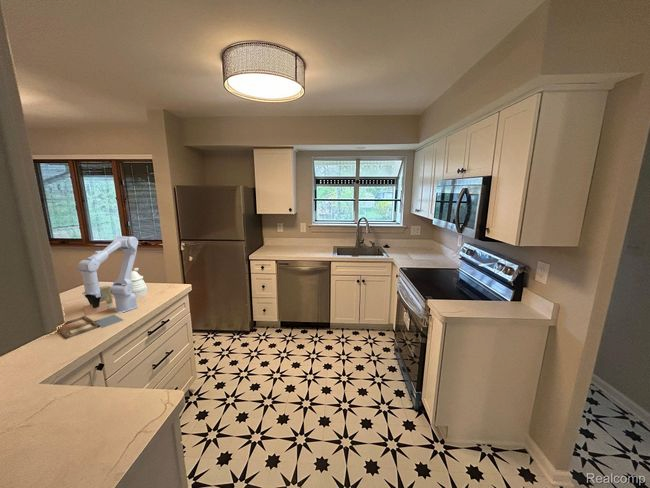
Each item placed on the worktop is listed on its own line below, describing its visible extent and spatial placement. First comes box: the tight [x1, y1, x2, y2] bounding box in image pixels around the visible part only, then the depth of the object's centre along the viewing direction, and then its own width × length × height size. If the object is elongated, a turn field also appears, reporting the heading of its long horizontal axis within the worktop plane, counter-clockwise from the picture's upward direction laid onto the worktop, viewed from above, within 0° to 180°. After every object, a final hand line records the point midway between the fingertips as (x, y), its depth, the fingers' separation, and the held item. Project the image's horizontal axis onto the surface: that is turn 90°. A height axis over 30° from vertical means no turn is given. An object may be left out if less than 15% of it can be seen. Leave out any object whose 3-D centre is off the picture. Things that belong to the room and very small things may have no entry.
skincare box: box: [99, 285, 114, 308], centre depth 159 cm, size 6×4×12 cm
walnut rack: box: [56, 315, 101, 340], centre depth 136 cm, size 13×19×2 cm
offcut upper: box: [69, 324, 94, 335], centre depth 133 cm, size 8×4×1 cm, turn 148°
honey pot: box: [130, 267, 148, 299], centre depth 177 cm, size 13×13×18 cm
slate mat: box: [93, 314, 124, 329], centre depth 143 cm, size 10×12×1 cm
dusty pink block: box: [83, 301, 108, 317], centre depth 140 cm, size 9×2×4 cm, turn 149°
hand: (95, 306), depth 140 cm, fingers closed on dusty pink block, 2 cm apart
